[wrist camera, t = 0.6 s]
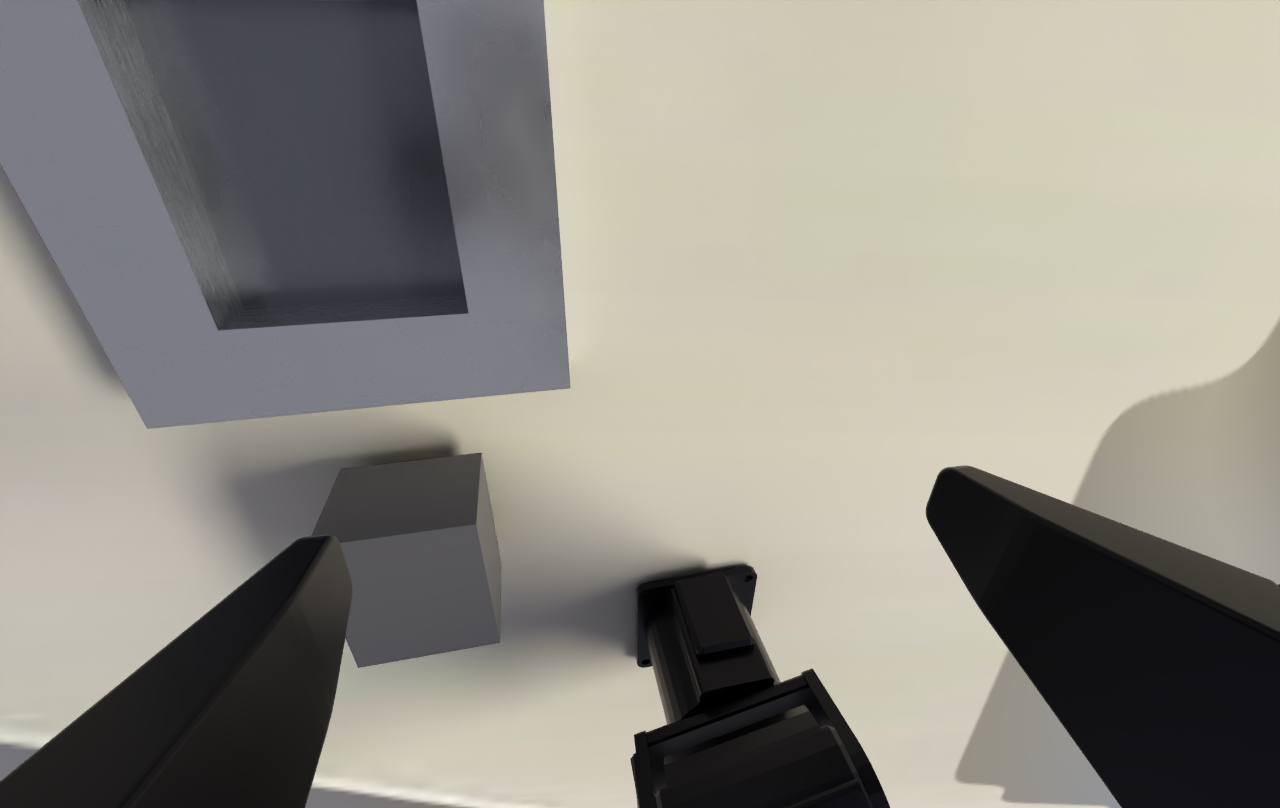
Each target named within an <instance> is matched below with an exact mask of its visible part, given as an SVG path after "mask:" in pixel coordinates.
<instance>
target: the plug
mask: <svg viewBox="0 0 1280 808" xmlns="http://www.w3.org/2000/svg"><path fill="white" fill-rule="evenodd" d="M319 535H333V536H335V537H336V538H337V539H338V540H339V542H340V545H341V548H342V551H343V554H344V557H345V560H346V563H347V567H348V570H349V573H350V576H351V579H352V588H353V591H352V601H351V607H350V613H349V618H348V624H347V630H346V636H345V638H346V640H347V643H348V645H349V647H350V650H351V652H352V654H353V657H354V659H355V661H356V663H357V666H358V668H360V667H366V666H371V665H377V664H382V663H388V662H394V661H399V660H405V659H410V658H416V657H422V656H427V655H433V654H438V653H444V652H450V651H455V650H461V649H467V648H472V647H478V646H483V645H489V644H495V643H500V616H501V559H500V554H499V548H498V542H497V537H496V531H495V526H494V520H493V514H492V509H491V503H490V498H489V492H488V486H487V481H486V475H485V470H484V464H483V459H482V453H475V454H467V455H458V456H449V457H440V458H432V459H423V460H414V461H405V462H397V463H388V464H379V465H370V466H362V467H353V468H344V469H341V470H340V473H339V475H338V477H337V479H336V482H335V484H334V486H333V489H332V491H331V493H330V495H329V498H328V500H327V502H326V504H325V507H324V509H323V511H322V514H321V516H320V518H319V520H318V523H317V525H316V527H315V530H314V532H313V534H312V536H319Z"/></svg>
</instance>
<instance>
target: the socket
mask: <svg viewBox="0 0 1280 808" xmlns="http://www.w3.org/2000/svg"><path fill="white" fill-rule="evenodd" d="M0 164H1V166H2V167H3V169H4V171H5V173H6V175H7V176H8V178H9V180H10V182H11V184H12V186H13V187H14V189H15V191H16V193H17V195H18V196H19V198H20V200H21V202H22V204H23V205H24V207H25V209H26V211H27V213H28V214H29V216H30V218H31V220H32V222H33V223H34V225H35V227H36V229H37V231H38V232H39V234H40V236H41V238H42V240H43V241H44V243H45V245H46V247H47V249H48V250H49V252H50V254H51V256H52V258H53V259H54V261H55V263H56V265H57V267H58V268H59V270H60V272H61V274H62V276H63V277H64V279H65V281H66V283H67V285H68V286H69V288H70V290H71V292H72V294H73V295H74V297H75V299H76V301H77V303H78V304H79V306H80V308H81V310H82V312H83V313H84V315H85V317H86V319H87V321H88V322H89V324H90V326H91V328H92V330H93V331H94V333H95V335H96V337H97V339H98V341H99V342H100V344H101V346H102V348H103V350H104V351H105V353H106V355H107V357H108V359H109V360H110V362H111V364H112V366H113V368H114V369H115V371H116V373H117V375H118V377H119V378H120V380H121V382H122V384H123V386H124V387H125V389H126V391H127V393H128V395H129V396H130V398H131V400H132V402H133V404H134V405H135V407H136V409H137V411H138V413H139V414H140V416H141V418H142V420H143V422H144V423H145V425H146V427H147V429H149V428H160V427H170V426H180V425H191V424H201V423H212V422H222V421H233V420H243V419H254V418H264V417H274V416H285V415H295V414H306V413H316V412H327V411H337V410H348V409H358V408H368V407H379V406H389V405H400V404H410V403H421V402H431V401H442V400H452V399H462V398H473V397H483V396H494V395H504V394H515V393H525V392H536V391H546V390H556V389H567V388H570V375H569V361H568V347H567V332H566V318H565V303H564V289H563V275H562V260H561V246H560V232H559V217H558V203H557V189H556V174H555V160H554V145H553V131H552V117H551V102H550V88H549V74H548V59H547V45H546V31H545V16H544V2H543V0H0Z"/></svg>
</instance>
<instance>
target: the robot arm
mask: <svg viewBox="0 0 1280 808" xmlns="http://www.w3.org/2000/svg"><path fill="white" fill-rule="evenodd" d="M926 517H927V520H928V522H929V524H930V526H931V528H932V530H933V531H934V533H935V535H936V536H937V538H938V540H939V541H940V543H941V545H942V547H943V548H944V550H945V552H946V553H947V555H948V557H949V558H950V560H951V562H952V563H953V565H954V567H955V569H956V570H957V572H958V574H959V575H960V577H961V579H962V580H963V582H964V584H965V586H966V587H967V589H968V591H969V592H970V594H971V596H972V597H973V599H974V600H975V602H976V604H977V605H978V607H979V608H980V610H981V611H982V613H983V614H984V615H985V617H986V618H987V620H988V621H989V623H990V624H991V625H992V627H993V628H994V630H995V631H996V632H997V634H998V635H999V637H1000V638H1001V639H1002V641H1003V642H1004V644H1005V645H1006V646H1007V648H1008V649H1009V651H1010V652H1011V653H1012V655H1013V656H1014V658H1015V659H1016V660H1017V662H1018V663H1019V665H1020V666H1021V667H1022V669H1023V670H1024V672H1025V673H1026V674H1027V676H1028V677H1029V679H1030V680H1031V681H1032V683H1033V684H1034V686H1035V687H1036V688H1037V690H1038V691H1039V693H1040V694H1041V695H1042V697H1043V698H1044V700H1045V701H1046V702H1047V704H1048V705H1049V706H1050V708H1051V709H1052V711H1053V712H1054V714H1055V715H1056V716H1057V718H1058V719H1059V721H1060V722H1061V723H1062V725H1063V726H1064V728H1065V729H1066V730H1067V732H1068V733H1069V735H1070V736H1071V737H1072V739H1073V740H1074V741H1075V743H1076V744H1077V746H1078V747H1079V749H1080V750H1081V751H1082V753H1083V754H1084V756H1085V757H1086V758H1087V760H1088V761H1089V762H1090V764H1091V765H1092V767H1093V768H1094V770H1095V771H1096V772H1097V774H1098V775H1099V777H1100V778H1101V779H1102V781H1103V782H1104V784H1105V785H1106V786H1107V788H1108V789H1109V791H1110V792H1111V793H1112V795H1113V796H1114V798H1115V799H1116V800H1117V802H1118V803H1119V805H1120V806H1121V807H1122V808H1280V584H1279V585H1277V584H1276V583H1274V582H1273V581H1271V580H1269V579H1266V578H1263V577H1261V576H1258V575H1256V574H1253V573H1250V572H1247V571H1245V570H1242V569H1240V568H1237V567H1235V566H1232V565H1229V564H1227V563H1224V562H1221V561H1219V560H1216V559H1214V558H1211V557H1208V556H1206V555H1202V554H1200V553H1197V552H1195V551H1192V550H1190V549H1187V548H1185V547H1182V546H1179V545H1177V544H1174V543H1171V542H1169V541H1166V540H1164V539H1161V538H1158V537H1155V536H1153V535H1150V534H1148V533H1145V532H1143V531H1140V530H1137V529H1134V528H1132V527H1129V526H1127V525H1124V524H1122V523H1118V522H1116V521H1114V520H1111V519H1108V518H1106V517H1103V516H1100V515H1098V514H1095V513H1092V512H1090V511H1087V510H1085V509H1082V508H1079V507H1077V506H1074V505H1072V504H1069V503H1066V502H1064V501H1061V500H1058V499H1056V498H1053V497H1051V496H1048V495H1045V494H1043V493H1040V492H1037V491H1035V490H1032V489H1030V488H1027V487H1024V486H1022V485H1019V484H1016V483H1014V482H1011V481H1008V480H1006V479H1003V478H1001V477H998V476H995V475H993V474H990V473H987V472H985V471H982V470H980V469H977V468H974V467H971V466H956V467H947V468H945V469H943V470H942V471H941V472H940V473H939V474H938V476H937V479H936V481H935V484H934V487H933V489H932V492H931V495H930V498H929V500H928V503H927V506H926ZM756 580H757V574H756V572H755V570H754V569H753V567H751V566H745V567H739V568H733V569H727V570H721V571H715V572H709V573H703V574H697V575H691V576H685V577H679V578H673V579H667V580H661V581H655V582H649V583H644V584H641V585H640V586H638V588H637V589H636V660H637V664H638V666H639V667H642V668H643V667H650V666H653V669H654V673H655V677H656V681H657V685H658V689H659V693H660V697H661V701H662V705H663V709H664V713H665V717H666V721H667V725H665V726H663V727H660V728H657V729H654V730H652V731H649V732H646V731H643V732H640V733H637V734H635V735H634V739H635V748H636V753H635V754H633V757H632V758H631V765H632V770H633V776H634V781H635V787H636V794H637V804H638V808H890V806H889V803H888V801H887V798H886V796H885V794H884V791H883V789H882V787H881V784H880V782H879V780H878V778H877V776H876V773H875V771H874V769H873V767H872V765H871V763H870V761H869V759H868V758H867V756H866V754H865V752H864V750H863V748H862V747H861V745H860V743H859V742H858V740H857V738H856V737H855V735H854V734H853V732H852V730H851V729H850V727H849V726H848V724H847V722H846V721H845V719H844V718H843V716H842V715H841V713H840V711H839V710H838V708H837V707H836V705H835V703H834V702H833V700H832V699H831V697H830V695H829V694H828V692H827V691H826V689H825V687H824V686H823V684H822V683H821V681H820V680H819V678H818V676H817V675H816V673H815V672H814V670H813V669H809V670H807V671H804V672H801V674H802V675H800V676H797V677H794V678H792V679H789V680H786V681H784V682H780V680H779V678H778V676H777V673H776V671H775V669H774V667H773V665H772V662H771V660H770V658H769V656H768V654H767V652H766V649H765V647H764V645H763V643H762V641H761V638H760V636H759V634H758V632H757V630H756V628H755V625H754V623H753V621H752V619H751V617H750V616H751V610H752V604H753V598H754V592H755V586H756ZM352 591H353V588H352V579H351V576H350V573H349V570H348V567H347V563H346V560H345V557H344V554H343V551H342V548H341V545H340V542H339V540H338V539H337V538H336V537H335V536H333V535H319V536H310V537H303V538H300V539H298V540H296V541H295V542H293V543H292V544H291V545H290V546H288V547H287V548H286V549H285V550H283V551H282V552H281V553H280V554H279V555H277V556H276V557H275V558H274V559H272V560H271V561H270V562H269V563H268V564H266V565H265V566H264V567H263V568H261V569H260V570H259V571H258V572H256V573H255V574H254V575H253V576H252V577H250V578H249V579H248V580H247V581H245V582H244V583H243V584H242V585H240V586H239V587H238V588H237V589H236V590H234V591H233V592H232V593H231V594H229V595H228V596H227V597H226V598H225V599H223V600H222V601H221V602H220V603H218V604H217V605H216V606H215V607H213V608H212V609H211V610H210V611H209V612H207V613H206V614H205V615H204V616H202V617H201V618H200V619H199V620H198V621H196V622H195V623H194V624H193V625H191V626H190V627H189V628H188V629H186V630H185V631H184V632H183V633H182V634H180V635H179V636H178V637H177V638H175V639H174V640H173V641H172V642H170V643H169V644H168V645H167V646H166V647H164V648H163V649H162V650H161V651H159V652H158V653H157V654H156V655H155V656H153V657H152V658H151V659H150V660H148V661H147V662H146V663H145V664H143V665H142V666H141V667H140V668H139V669H137V670H136V671H135V672H134V673H132V674H131V675H130V676H129V677H128V678H126V679H125V680H124V681H123V682H121V683H120V684H119V685H118V686H116V687H115V688H114V689H113V690H112V691H110V692H109V693H108V694H107V695H105V696H104V697H103V698H102V699H101V700H99V701H98V702H97V703H96V704H94V705H93V706H92V707H91V708H89V709H88V710H87V711H86V712H85V713H83V714H82V715H81V716H80V717H78V718H77V719H76V720H75V721H73V722H72V723H71V724H70V725H69V726H67V727H66V728H65V729H64V730H62V731H61V732H60V733H59V734H58V735H56V736H55V737H54V738H53V739H51V740H50V741H49V742H48V743H46V744H45V745H44V746H43V747H42V748H40V749H39V750H38V751H37V752H36V753H34V754H33V755H32V756H31V757H29V758H28V759H27V760H26V761H24V762H23V763H22V764H21V765H19V766H18V767H17V768H16V769H15V770H13V771H12V772H11V773H10V774H8V775H7V776H6V777H5V778H4V779H2V780H1V781H0V808H305V806H306V803H307V800H308V796H309V793H310V789H311V786H312V782H313V779H314V775H315V772H316V768H317V765H318V761H319V758H320V755H321V751H322V748H323V744H324V741H325V737H326V734H327V730H328V726H329V722H330V718H331V714H332V710H333V705H334V700H335V694H336V689H337V683H338V677H339V671H340V665H341V659H342V654H343V648H344V642H345V636H346V630H347V624H348V618H349V613H350V607H351V601H352Z"/></svg>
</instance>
